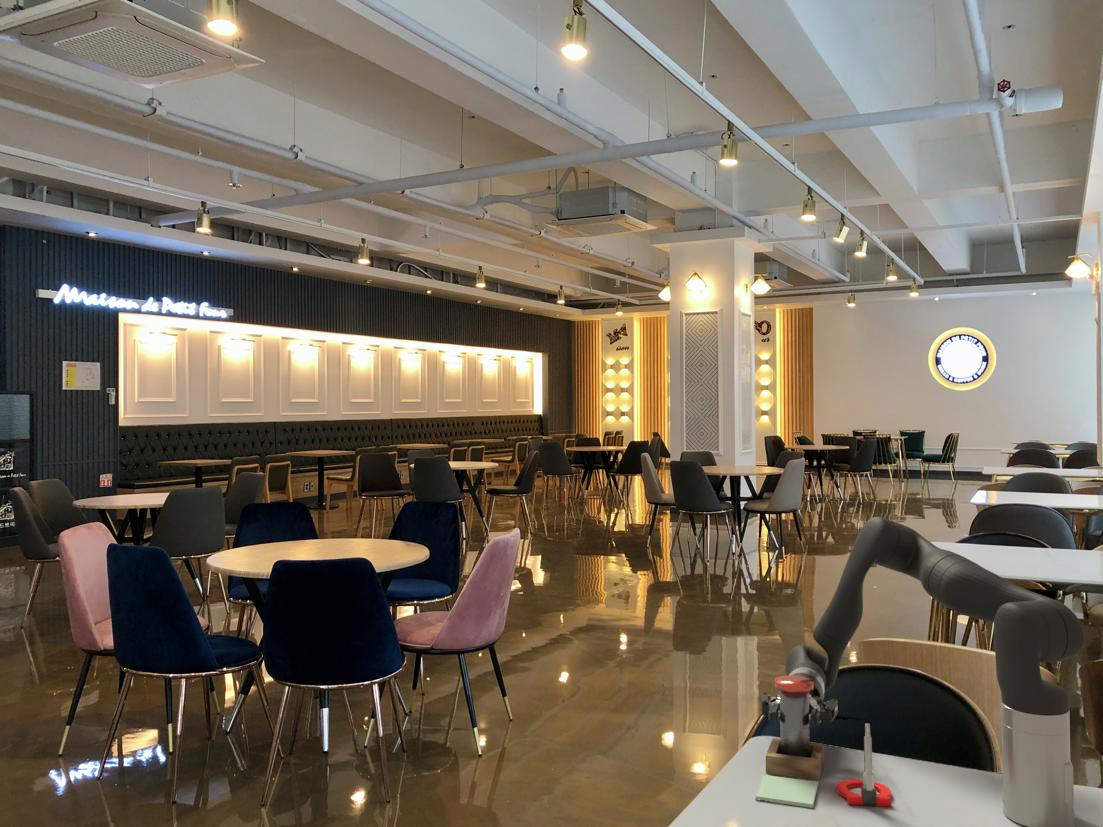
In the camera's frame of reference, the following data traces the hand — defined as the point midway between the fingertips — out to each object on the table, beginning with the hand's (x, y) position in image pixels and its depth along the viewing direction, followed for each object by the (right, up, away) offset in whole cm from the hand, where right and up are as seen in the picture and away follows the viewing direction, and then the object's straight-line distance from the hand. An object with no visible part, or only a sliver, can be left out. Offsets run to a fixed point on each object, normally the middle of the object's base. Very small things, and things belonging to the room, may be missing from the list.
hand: (792, 720), depth 156 cm
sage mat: (-3, -9, -8) cm, 13 cm away
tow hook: (+9, -9, -10) cm, 16 cm away
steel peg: (+1, -9, +2) cm, 9 cm away
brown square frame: (+1, -9, +2) cm, 9 cm away
